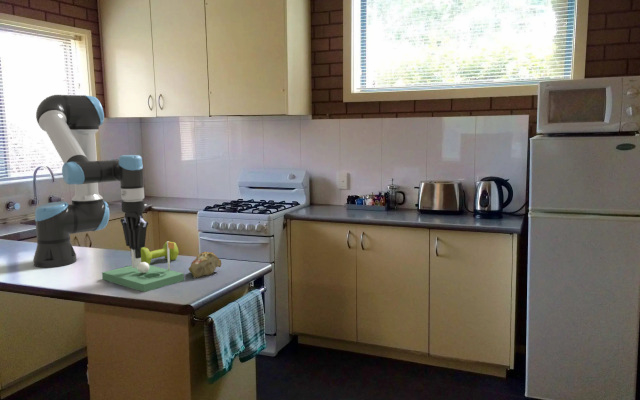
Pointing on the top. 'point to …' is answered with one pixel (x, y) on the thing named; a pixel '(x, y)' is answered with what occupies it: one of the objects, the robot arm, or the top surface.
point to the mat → (143, 277)
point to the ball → (143, 267)
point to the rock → (204, 264)
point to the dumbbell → (158, 253)
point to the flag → (171, 246)
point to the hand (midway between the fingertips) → (136, 266)
